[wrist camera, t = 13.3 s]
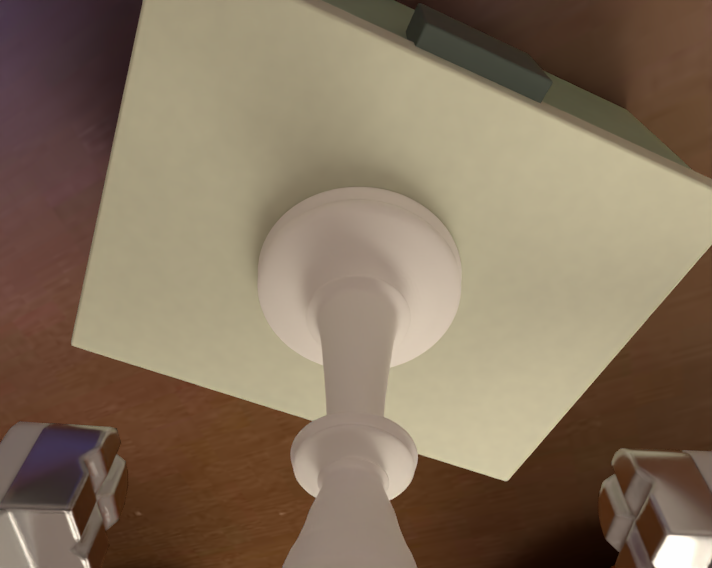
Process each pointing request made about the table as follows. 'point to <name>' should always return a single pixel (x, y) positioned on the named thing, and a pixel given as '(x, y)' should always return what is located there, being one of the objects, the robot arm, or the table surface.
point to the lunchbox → (394, 173)
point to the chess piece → (357, 356)
